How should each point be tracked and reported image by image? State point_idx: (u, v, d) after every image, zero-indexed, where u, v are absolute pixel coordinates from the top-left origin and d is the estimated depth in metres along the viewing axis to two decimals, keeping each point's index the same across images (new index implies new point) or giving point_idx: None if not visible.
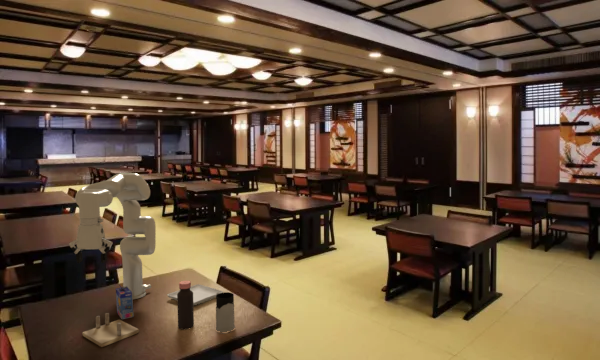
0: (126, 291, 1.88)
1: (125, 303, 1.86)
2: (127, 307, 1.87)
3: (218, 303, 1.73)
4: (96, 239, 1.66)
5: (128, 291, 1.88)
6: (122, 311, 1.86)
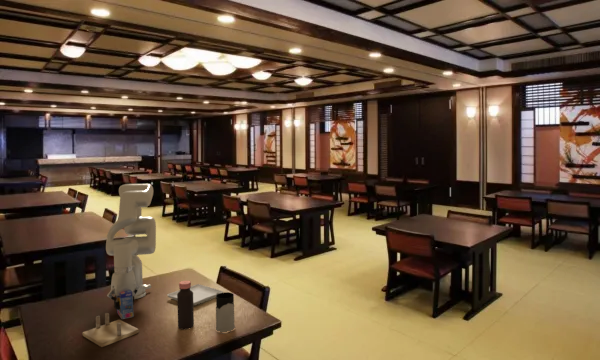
0: (126, 291, 1.88)
1: (125, 303, 1.86)
2: (127, 307, 1.87)
3: (218, 303, 1.73)
4: (133, 283, 1.91)
5: (128, 291, 1.89)
6: (122, 311, 1.86)
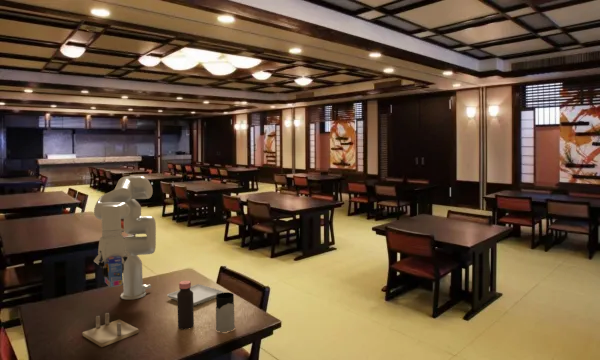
0: (115, 257, 1.73)
1: (113, 269, 1.71)
2: (116, 274, 1.72)
3: (218, 303, 1.73)
4: (122, 248, 1.76)
5: (118, 257, 1.73)
6: (110, 278, 1.70)
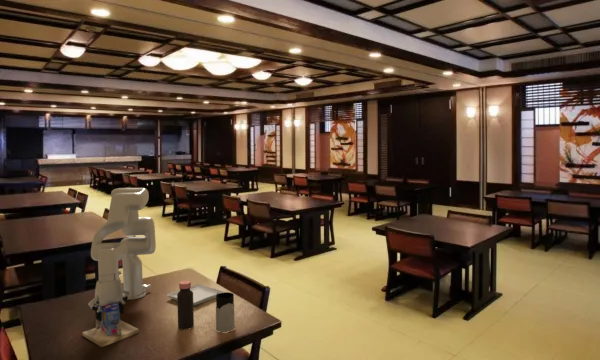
0: (112, 304, 1.69)
1: (111, 317, 1.67)
2: (113, 322, 1.68)
3: (218, 303, 1.73)
4: (119, 291, 1.72)
5: (114, 304, 1.69)
6: (108, 327, 1.67)
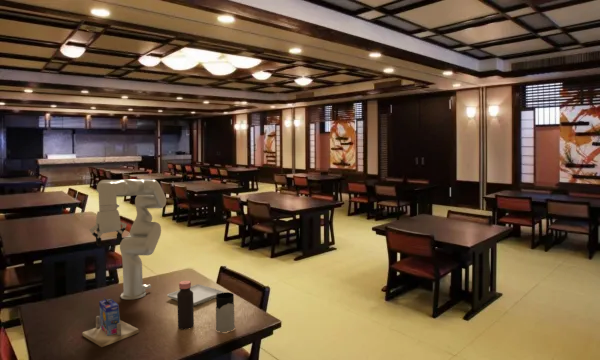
0: (112, 304, 1.69)
1: (111, 317, 1.67)
2: (113, 322, 1.68)
3: (218, 303, 1.73)
4: (117, 222, 1.92)
5: (114, 304, 1.69)
6: (108, 327, 1.67)
